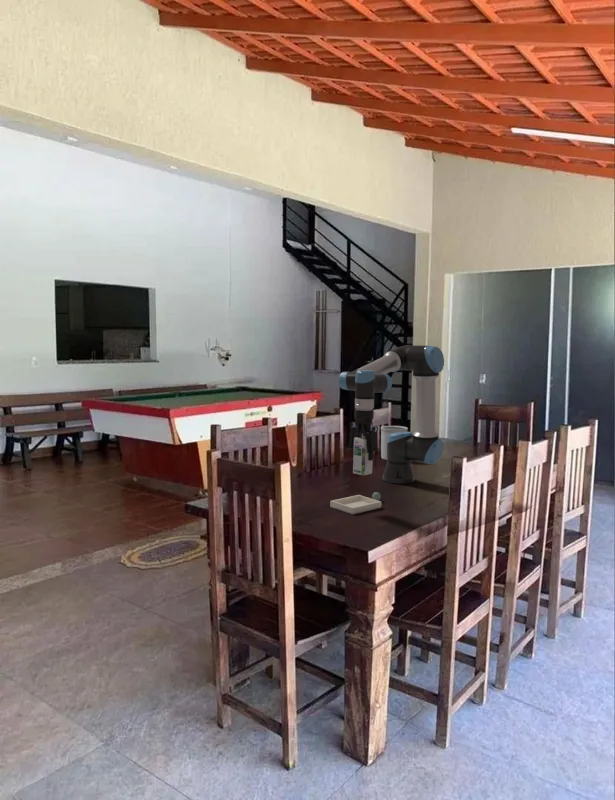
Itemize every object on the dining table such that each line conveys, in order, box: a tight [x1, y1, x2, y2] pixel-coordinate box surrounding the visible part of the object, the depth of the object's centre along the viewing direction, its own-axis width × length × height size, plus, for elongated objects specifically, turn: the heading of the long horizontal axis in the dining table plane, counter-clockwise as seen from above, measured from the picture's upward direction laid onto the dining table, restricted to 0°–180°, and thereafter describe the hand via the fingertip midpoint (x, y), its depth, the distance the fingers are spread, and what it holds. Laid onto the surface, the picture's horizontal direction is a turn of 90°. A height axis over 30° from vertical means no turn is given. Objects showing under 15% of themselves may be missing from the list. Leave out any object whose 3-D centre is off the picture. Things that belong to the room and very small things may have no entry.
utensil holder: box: [380, 425, 409, 461], centre depth 350 cm, size 15×15×18 cm
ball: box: [371, 491, 382, 501], centre depth 262 cm, size 4×4×4 cm
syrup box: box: [352, 436, 374, 476], centre depth 249 cm, size 6×6×14 cm
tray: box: [329, 494, 382, 515], centre depth 252 cm, size 16×13×2 cm
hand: (362, 466), depth 249 cm, fingers closed on syrup box, 6 cm apart
